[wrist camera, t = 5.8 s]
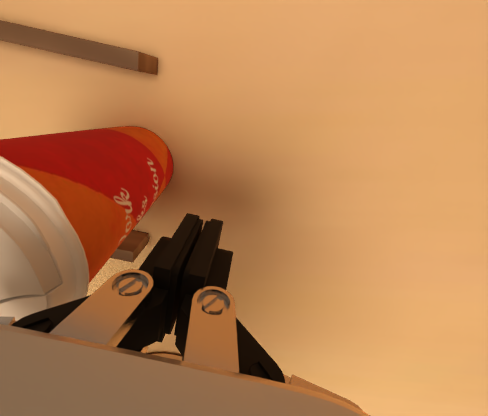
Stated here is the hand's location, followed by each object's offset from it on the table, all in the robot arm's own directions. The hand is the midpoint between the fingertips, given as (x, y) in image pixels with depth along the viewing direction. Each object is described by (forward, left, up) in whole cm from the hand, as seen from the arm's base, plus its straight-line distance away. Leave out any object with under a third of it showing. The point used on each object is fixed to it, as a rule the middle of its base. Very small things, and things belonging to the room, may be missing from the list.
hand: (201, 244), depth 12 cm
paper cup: (0, +7, -10) cm, 12 cm away
